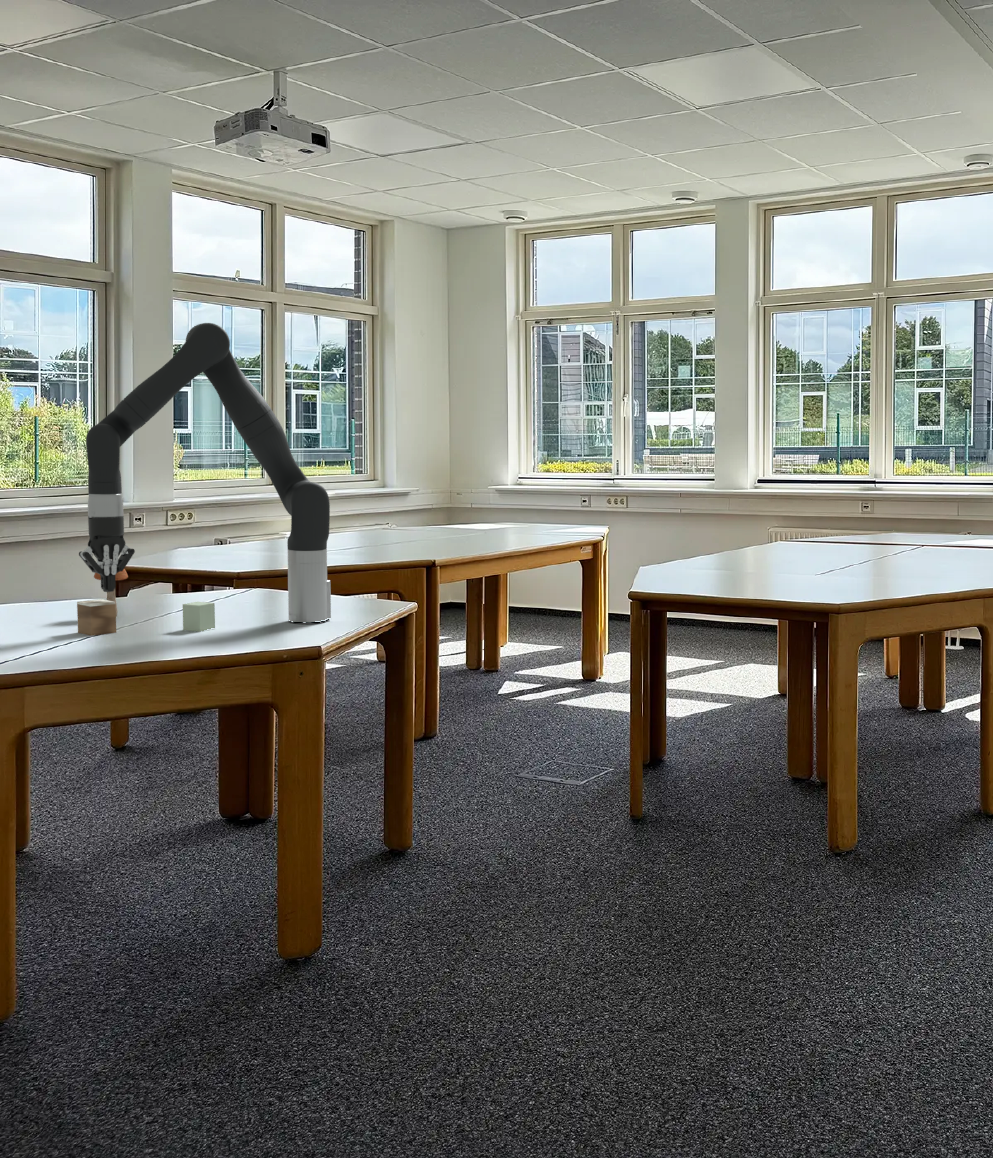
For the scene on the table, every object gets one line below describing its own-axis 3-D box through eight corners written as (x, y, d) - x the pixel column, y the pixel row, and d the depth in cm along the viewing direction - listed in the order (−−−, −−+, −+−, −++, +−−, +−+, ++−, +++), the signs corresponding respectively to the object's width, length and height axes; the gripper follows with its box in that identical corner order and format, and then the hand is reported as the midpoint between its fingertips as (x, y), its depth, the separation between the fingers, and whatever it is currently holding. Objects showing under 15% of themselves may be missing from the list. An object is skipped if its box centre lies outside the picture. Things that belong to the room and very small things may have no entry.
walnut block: (77, 601, 263) (78, 632, 264) (90, 604, 259) (91, 635, 260) (101, 599, 267) (102, 629, 268) (115, 601, 263) (116, 632, 264)
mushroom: (118, 620, 282) (116, 557, 281) (88, 619, 284) (86, 557, 282) (135, 615, 290) (133, 554, 288) (105, 614, 292) (103, 554, 290)
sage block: (198, 627, 272) (197, 601, 272) (215, 629, 270) (214, 603, 269) (183, 630, 268) (182, 604, 267) (200, 632, 266) (199, 605, 265)
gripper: (123, 512, 270) (126, 587, 272) (69, 514, 260) (72, 592, 262) (141, 513, 265) (143, 590, 267) (86, 516, 255) (89, 595, 257)
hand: (108, 591), depth 265 cm, fingers closed
